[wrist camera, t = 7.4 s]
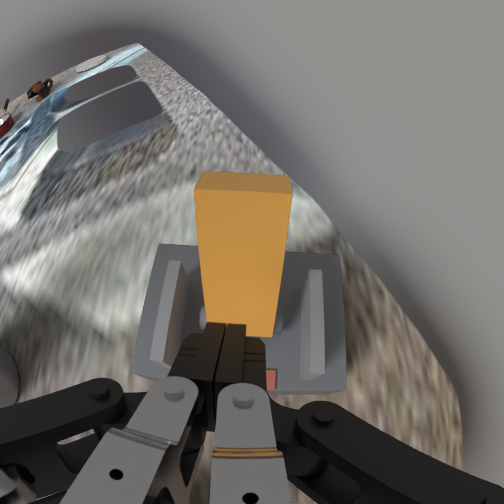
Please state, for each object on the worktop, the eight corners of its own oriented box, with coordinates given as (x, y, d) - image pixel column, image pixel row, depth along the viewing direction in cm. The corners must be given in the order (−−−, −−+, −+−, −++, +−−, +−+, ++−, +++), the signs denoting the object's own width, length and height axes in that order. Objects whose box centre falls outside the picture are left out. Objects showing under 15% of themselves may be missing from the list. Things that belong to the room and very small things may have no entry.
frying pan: (-4, 121, 66) (-9, 110, 61) (19, 104, 71) (14, 93, 65) (-15, 151, 53) (-22, 138, 48) (12, 129, 58) (6, 115, 52)
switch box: (152, 380, 25) (110, 365, 17) (172, 271, 32) (148, 219, 24) (327, 393, 25) (365, 385, 16) (324, 281, 32) (351, 231, 23)
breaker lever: (200, 336, 22) (180, 188, 14) (205, 313, 24) (192, 171, 16) (280, 342, 21) (306, 195, 14) (279, 318, 23) (301, 177, 16)
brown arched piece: (32, 107, 66) (22, 94, 60) (37, 109, 73) (28, 96, 68) (56, 85, 67) (46, 71, 62) (59, 88, 74) (49, 76, 69)
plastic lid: (112, 57, 84) (111, 52, 82) (95, 70, 77) (93, 65, 75) (88, 63, 85) (87, 59, 83) (71, 76, 78) (69, 71, 76)
